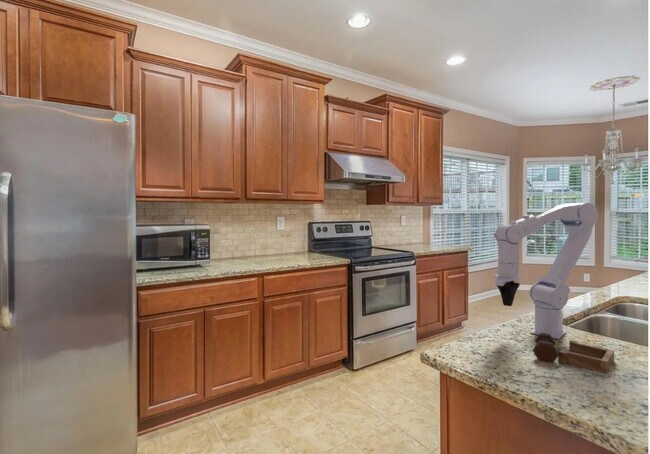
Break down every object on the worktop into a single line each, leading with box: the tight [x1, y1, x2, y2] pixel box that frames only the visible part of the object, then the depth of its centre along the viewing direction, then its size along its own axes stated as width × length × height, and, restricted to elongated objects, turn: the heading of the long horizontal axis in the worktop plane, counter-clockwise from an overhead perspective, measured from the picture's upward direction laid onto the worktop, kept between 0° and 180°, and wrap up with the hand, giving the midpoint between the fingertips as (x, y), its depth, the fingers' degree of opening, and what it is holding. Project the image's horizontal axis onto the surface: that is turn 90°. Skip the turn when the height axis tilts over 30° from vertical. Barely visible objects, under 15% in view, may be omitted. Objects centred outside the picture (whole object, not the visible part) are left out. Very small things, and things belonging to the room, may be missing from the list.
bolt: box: [532, 333, 559, 364], centre depth 97 cm, size 6×5×15 cm
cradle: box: [557, 339, 615, 374], centre depth 91 cm, size 13×10×3 cm
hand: (507, 305), depth 110 cm, fingers closed
